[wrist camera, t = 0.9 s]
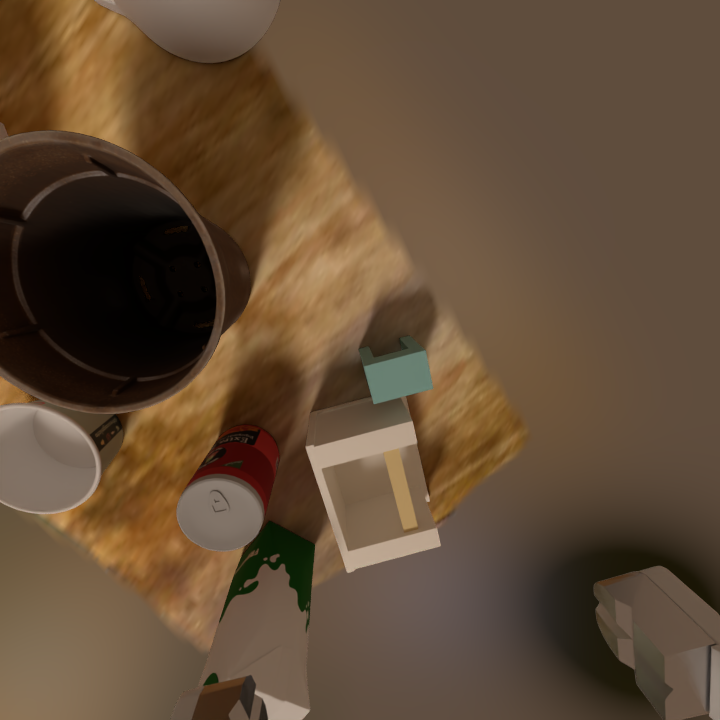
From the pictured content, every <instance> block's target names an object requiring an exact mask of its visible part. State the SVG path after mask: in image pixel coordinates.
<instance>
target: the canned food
mask: <svg viewBox="0 0 720 720" xmlns="http://www.w3.org/2000/svg"><path fill="white" fill-rule="evenodd" d="M278 464H279V451H278V447H277V445H276V442H275V440H274V439H273V438H272V436H271V435H270V434H269V433H268V432H266V431H265V430H263V429H261V428H259V427H257V426H253V425H239V426H236V427H233V428H231V429H229V430H227V431H225V432H224V433H223V434H222V435H221V436H220V437H219V438H218V440H217V441H216V443H215V444H214V446H213V447H212V449H211V450H210V452H209V453H208V455H207V456H206V458H205V459H204V461H203V462H202V464H201V465H200V467H199V468H198V470H197V471H196V473H195V474H194V476H193V477H192V479H191V480H190V482H189V483H188V485H187V487H186V488H185V490H184V491H183V493H182V495H181V497H180V500H179V502H178V505H177V520H178V523H179V526H180V528H181V529H182V531H183V533H184V534H185V535H186V536H187V537H188V538H189V539H190V540H191V541H192V542H194V543H195V544H197V545H199V546H201V547H203V548H206V549H209V550H213V551H232V550H236V549H239V548H241V547H243V546H245V545H247V544H248V543H250V542H251V541H252V540H253V539H254V538H255V537H256V536H257V534H258V533H259V531H260V529H261V526H262V524H263V521H264V517H265V514H266V510H267V506H268V502H269V499H270V495H271V491H272V487H273V483H274V479H275V475H276V472H277V468H278Z"/></svg>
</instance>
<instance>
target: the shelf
mask: <svg viewBox="0 0 720 720" xmlns="http://www.w3.org/2000/svg"><path fill="white" fill-rule="evenodd" d="M305 447H306V450H307V453H308V456H309V459H310V462H311V465H312V468H313V471H314V474H315V477H316V480H317V483H318V486H319V489H320V492H321V495H322V498H323V501H324V504H325V507H326V510H327V513H328V516H329V519H330V522H331V525H332V528H333V531H334V534H335V537H336V540H337V543H338V546H339V549H340V552H341V555H342V558H343V561H344V564H345V567H346V570H347V573H349V572H353V571H354V569H357V568H361V567H365V566H368V565H372V564H376V563H379V562H383V561H387V560H391V559H394V558H398V557H402V556H405V555H409V554H413V553H417V552H421V551H424V550H428V549H431V548H436V547H439V546H441V544H440V540H439V535H438V531H437V527H436V525H435V522H434V520H433V517H432V515H431V512H430V509H429V507H428V504H427V502H429V501H430V499H429V495H428V491H427V486H426V482H425V477H424V473H423V469H422V464H421V460H420V455H419V451H418V447H417V438H416V434H415V430H414V425H413V421H412V419H411V416H410V411H409V407H408V403H407V398H406V396H404V397H400V398H396V399H392V400H389V401H385V402H381V403H377V404H374V403H373V400H372V397H367V398H363V399H359V400H355V401H352V402H348V403H344V404H340V405H336V406H333V407H329V408H325V409H321V410H317V411H314V412H310V419H309V425H308V432H307V439H306V446H305Z"/></svg>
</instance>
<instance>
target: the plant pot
mask: <svg viewBox="0 0 720 720" xmlns="http://www.w3.org/2000/svg"><path fill="white" fill-rule="evenodd" d="M178 226H188V231H187V232H182V231H181V232H179V233H172V234H169V235H164V234H163V233H164V232H165V230H167V229H169V228H173V227H178ZM196 261H197V262H199V263H200V264H201V266H200V268H196V267H195V266H194V262H196ZM170 266H174V267H175V268H176V271H175V272H171V271H170ZM139 276H141V277H142V278H143V279H144V280H145V285H146V287H147V289H148V290H147V292H149V294H150V296H151V301H147V300H146V298H145V296H144V293H143V291H142V288H141V285H140V280H139ZM203 286H206V287H207V288H208V291H207V292H203V291H202V290H201V287H203ZM178 291H182V292H183V293H184V294H183V297H179V296H178V294H177V292H178ZM249 295H250V273H249V269H248V265H247V262H246V260H245V257H244V255H243V253H242V251H241V250H240V248H239V247H238V245H237V244H236V242H235V241H234V240H233V239H232V238H231V237H230V236H229V235H228V234H227V233H226V232H225V231H223V230H222V229H221V228H220V227H218V226H217V225H215V224H213V223H211V222H210V221H208V220H207V219H205V218H204V217H202V216H201V215H200V214H199V213H198V212H197V211H196V210H195V208H194V207H193V206H192V204H191V203H190V202H189V201H188V199H187V198H186V197H185V196H184V195H183V193H182V192H181V191H180V190H179V189H178V188H177V187H176V186H175V185H174V184H173V183H172V182H171V181H170V180H169V179H168V178H167V177H166V176H164V175H163V174H162V173H160V172H159V171H158V170H157V169H155V168H154V167H153V166H151V165H150V164H148V163H147V162H145V161H144V160H142V159H141V158H139V157H138V156H136V155H134V154H133V153H131V152H129V151H127V150H125V149H123V148H121V147H119V146H117V145H115V144H112V143H110V142H107V141H105V140H102V139H99V138H96V137H92V136H88V135H84V134H80V133H74V132H67V131H54V130H49V131H34V132H27V133H21V134H17V135H13V136H10V137H7V138H4V139H1V140H0V376H1V377H3V378H4V379H5V380H7V381H8V382H10V383H11V384H13V385H14V386H16V387H18V388H19V389H21V390H23V391H24V392H26V393H28V394H30V395H32V396H34V397H36V398H39V399H41V400H43V401H46V402H48V403H51V404H54V405H57V406H60V407H63V408H67V409H71V410H75V411H80V412H86V413H96V414H117V413H125V412H131V411H136V410H141V409H144V408H147V407H151V406H153V405H156V404H158V403H161V402H163V401H165V400H167V399H169V398H170V397H172V396H173V395H175V394H177V393H178V392H180V391H181V390H182V389H184V388H185V387H186V386H187V385H188V384H190V383H191V382H192V381H193V380H194V379H195V378H196V376H197V375H198V374H199V373H200V372H201V371H202V370H203V368H204V367H205V366H206V364H207V363H208V361H209V360H210V358H211V357H212V355H213V353H214V351H215V349H216V347H217V345H218V342H219V339H220V337H221V335H222V334H223V333H224V332H225V331H226V330H227V329H228V328H229V327H230V326H231V325H232V324H233V323H235V322H236V321H237V319H238V318H239V317H240V316H241V314H242V312H243V311H244V309H245V307H246V305H247V303H248V299H249ZM211 320H215V321H214V326H211V327H205V328H196V327H194V325H195V324H198V323H204V322H208V321H211Z"/></svg>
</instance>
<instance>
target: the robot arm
mask: <svg viewBox="0 0 720 720" xmlns="http://www.w3.org/2000/svg"><path fill="white" fill-rule="evenodd" d="M94 1H96V2H97V3H98V4H100V5H102V6H104V7H106V8H108V9H110V10H112V11H114V12H117V13H119V14H121V15H124V16H126V17H127V18H128V19H130V20H131V21H132V22H133V23H134V24H135V25H136V26H137V27H139V28H140V29H141V30H142V31H143V32H144V33H145V34H146V35H147V36H148V37H149V38H150V39H151V40H152V41H154V42H155V43H156V44H157V45H159V46H160V47H162V48H163V49H165V50H167V51H168V52H170V53H172V54H174V55H176V56H178V57H181V58H184V59H187V60H190V61H195V62H201V63H217V62H223V61H227V60H230V59H233V58H236V57H238V56H240V55H242V54H244V53H245V52H247V51H248V50H250V49H251V48H252V47H253V46H254V45H256V44H257V43H258V42H259V41H260V39H261V38H262V37H263V36H264V35H265V33H266V32H267V30H268V29H269V27H270V25H271V24H272V22H273V19H274V17H275V15H276V13H277V10H278V7H279V4H280V0H94ZM594 595H595V597H596V598H597V599H598V600H599V602H600V603H599V605H598V607H597V608H596V617H597V622H598V625H599V627H600V630H601V632H602V634H603V636H604V638H605V640H606V641H607V643H608V645H609V647H610V648H611V649H612V651H613V652H614V654H615V655H616V656H617V658H618V659H619V660H620V661H622V662H623V663H625V664H626V665H628V666H630V667H631V668H633V669H634V670H635V675H636V683H637V685H638V686H639V688H640V689H641V690H642V692H643V693H644V694H645V696H646V697H647V699H648V700H649V701H650V703H651V704H652V705H653V707H654V708H655V709H656V711H657V712H658V713H659V715H660V716H661V717H662V719H663V720H682V719H686V718H690V717H695V716H699V715H704V714H708V713H710V715H709V716H710V717H711V718H712V719H714V720H720V615H719V614H718V613H717V612H716V611H714V610H713V609H712V608H711V607H710V606H709V605H708V604H706V603H705V602H704V601H703V600H702V599H701V598H700V597H698V596H697V595H696V594H695V593H694V592H693V591H692V590H690V589H689V588H688V587H687V586H686V585H685V584H684V583H683V582H681V581H680V580H679V579H678V578H677V577H676V576H674V575H673V574H672V573H671V572H670V571H669V570H668V569H666V568H664V567H662V566H655V567H651V568H648V569H645V570H641V571H638V572H636V571H634V572H631V573H627V574H624V575H620V576H617V577H613V578H610V579H606V580H603V581H600V582H596V584H595V585H594ZM255 689H256V683H255V681H254V679H253V677H252V675H248V676H244V677H240V678H236V679H232V680H228V681H223V682H219V683H215V684H211V685H206V686H202V687H198V688H195V689H191V690H187V691H184V692H183V693H182V695H181V696H180V698H179V699H178V701H177V702H176V705H175V708H174V710H173V713H172V716H171V718H170V720H268V715H267V710H266V705H265V703H264V701H263V698H261V697H259V696H257V695H256V694H255Z"/></svg>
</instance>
